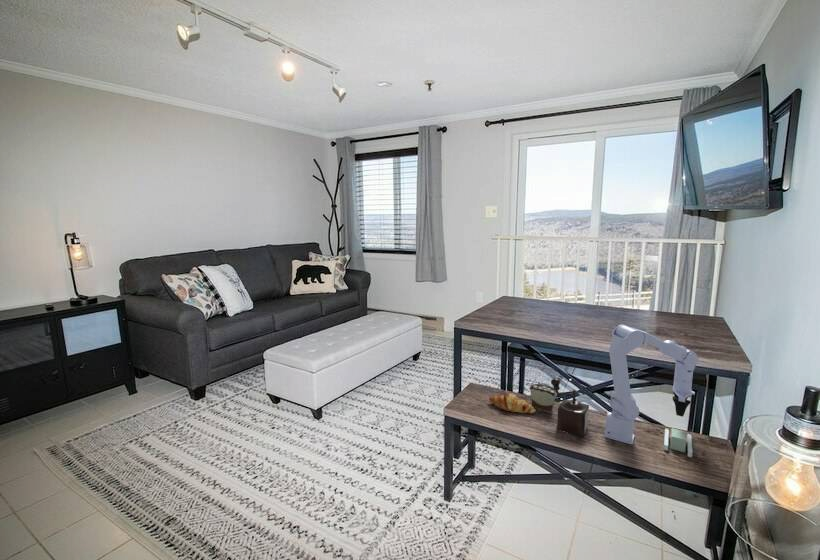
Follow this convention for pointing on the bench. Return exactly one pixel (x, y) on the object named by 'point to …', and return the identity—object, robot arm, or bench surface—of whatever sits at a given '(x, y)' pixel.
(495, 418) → the bench surface
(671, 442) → the block
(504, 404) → the croissant
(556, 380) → the manual coffee grinder
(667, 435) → the channel
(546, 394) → the food container
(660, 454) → the bench surface
